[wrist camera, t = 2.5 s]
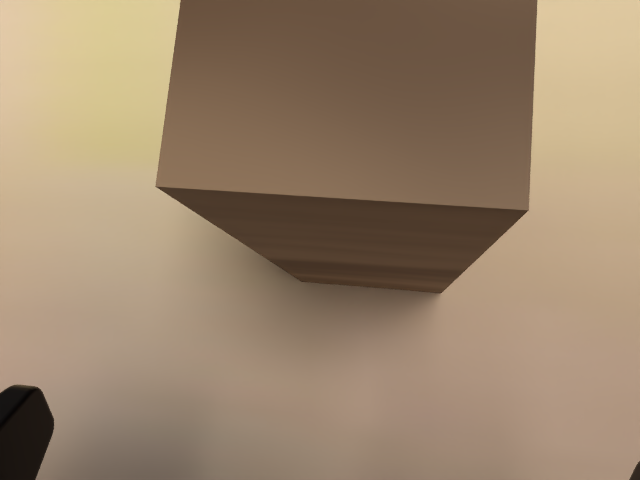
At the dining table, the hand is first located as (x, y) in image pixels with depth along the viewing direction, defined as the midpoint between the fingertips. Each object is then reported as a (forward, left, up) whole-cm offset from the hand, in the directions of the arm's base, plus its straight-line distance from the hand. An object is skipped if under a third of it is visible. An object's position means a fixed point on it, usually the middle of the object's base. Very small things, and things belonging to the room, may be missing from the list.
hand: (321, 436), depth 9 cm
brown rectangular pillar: (+2, +6, -12) cm, 14 cm away
